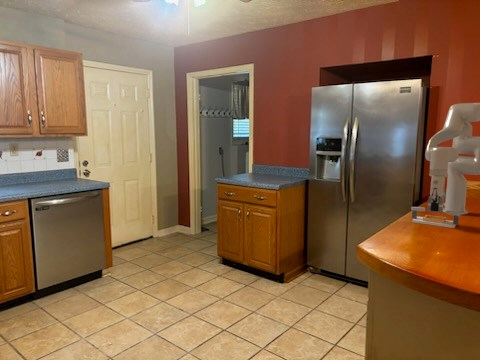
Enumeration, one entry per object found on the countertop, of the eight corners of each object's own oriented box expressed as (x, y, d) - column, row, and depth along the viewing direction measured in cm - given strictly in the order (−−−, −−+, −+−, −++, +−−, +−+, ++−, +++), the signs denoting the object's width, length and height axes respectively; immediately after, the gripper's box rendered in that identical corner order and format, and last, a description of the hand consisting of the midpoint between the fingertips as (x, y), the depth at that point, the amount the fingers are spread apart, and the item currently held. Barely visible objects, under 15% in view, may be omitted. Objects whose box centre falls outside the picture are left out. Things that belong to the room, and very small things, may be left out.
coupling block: (428, 209, 178) (430, 196, 177) (442, 211, 174) (443, 197, 173) (427, 211, 174) (428, 197, 173) (441, 213, 170) (442, 198, 170)
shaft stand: (408, 221, 177) (409, 208, 177) (412, 218, 185) (413, 205, 184) (458, 228, 165) (459, 214, 164) (460, 224, 173) (461, 210, 172)
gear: (453, 204, 213) (443, 191, 218) (445, 210, 216) (435, 197, 222) (462, 205, 219) (451, 192, 225) (453, 210, 223) (443, 198, 228)
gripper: (444, 175, 163) (441, 214, 165) (449, 172, 176) (446, 208, 179) (426, 173, 167) (423, 211, 169) (432, 171, 181) (429, 206, 183)
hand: (435, 209), depth 174 cm, fingers closed on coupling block, 4 cm apart
